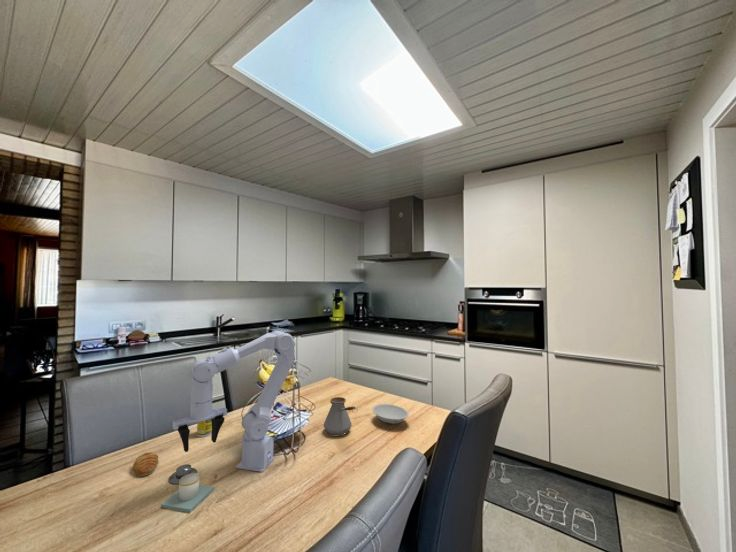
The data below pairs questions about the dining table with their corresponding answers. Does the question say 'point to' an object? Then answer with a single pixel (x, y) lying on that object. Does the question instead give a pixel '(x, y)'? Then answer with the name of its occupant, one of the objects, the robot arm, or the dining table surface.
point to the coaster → (191, 504)
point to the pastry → (145, 464)
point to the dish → (390, 413)
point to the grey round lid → (181, 473)
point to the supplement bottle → (204, 428)
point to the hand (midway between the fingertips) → (200, 445)
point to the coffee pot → (338, 417)
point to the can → (188, 486)
